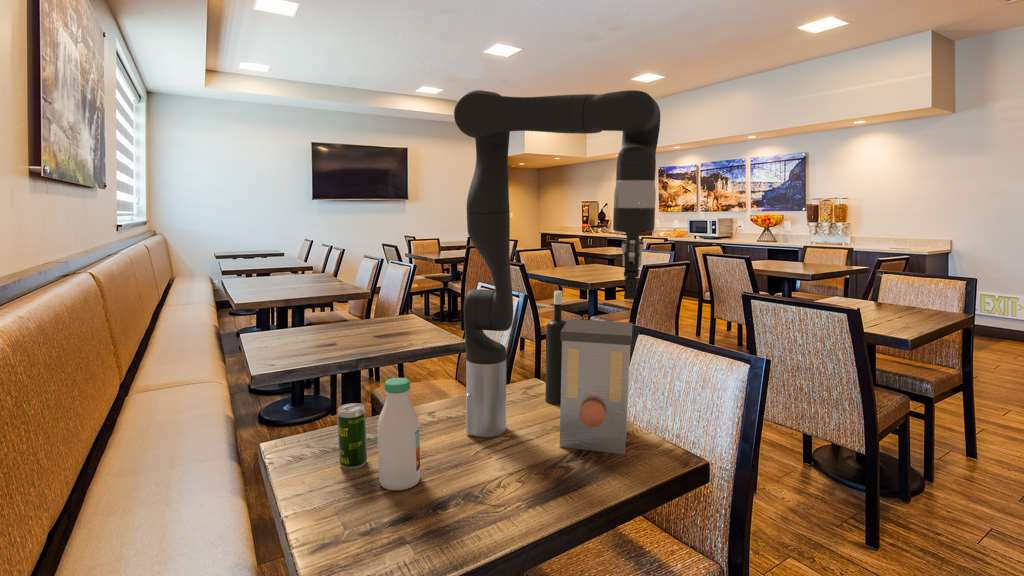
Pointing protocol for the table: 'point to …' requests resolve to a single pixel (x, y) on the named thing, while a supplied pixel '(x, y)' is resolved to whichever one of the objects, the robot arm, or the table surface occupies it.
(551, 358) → the wine bottle
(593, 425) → the plunger
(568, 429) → the dispenser
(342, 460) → the beer can
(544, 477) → the table surface
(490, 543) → the table surface
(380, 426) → the milk bottle
